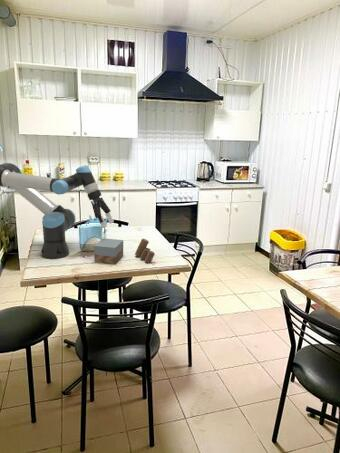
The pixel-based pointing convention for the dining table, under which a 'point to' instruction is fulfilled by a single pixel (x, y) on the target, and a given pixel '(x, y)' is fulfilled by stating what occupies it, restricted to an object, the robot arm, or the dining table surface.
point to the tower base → (109, 258)
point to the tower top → (108, 247)
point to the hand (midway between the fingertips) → (108, 225)
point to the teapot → (95, 220)
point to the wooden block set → (144, 251)
